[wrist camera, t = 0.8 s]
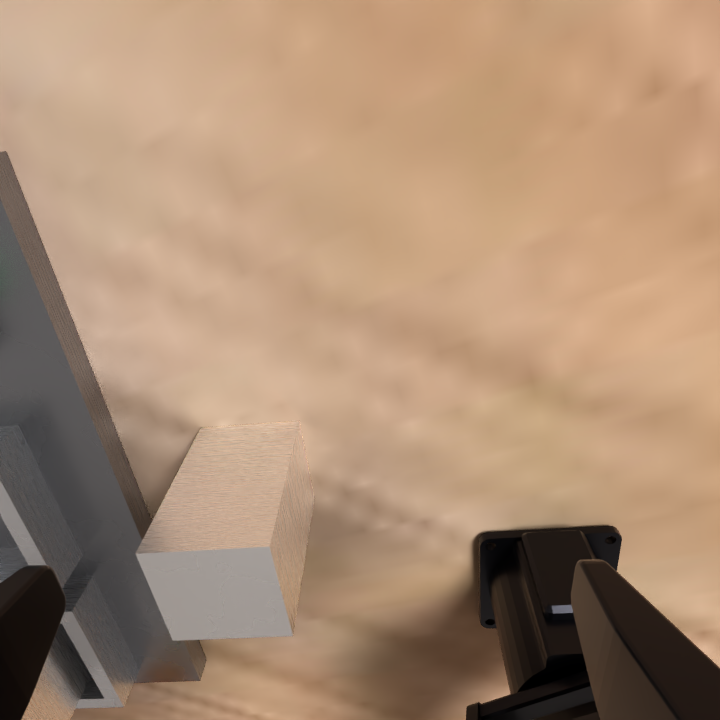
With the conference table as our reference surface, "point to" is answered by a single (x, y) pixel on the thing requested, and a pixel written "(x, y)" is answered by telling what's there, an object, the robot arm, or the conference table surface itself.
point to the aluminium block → (232, 534)
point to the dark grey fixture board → (72, 478)
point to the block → (59, 682)
